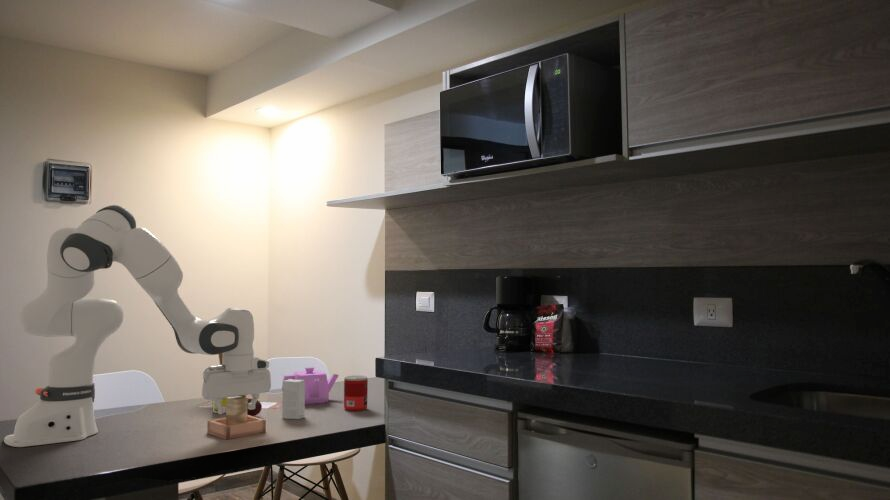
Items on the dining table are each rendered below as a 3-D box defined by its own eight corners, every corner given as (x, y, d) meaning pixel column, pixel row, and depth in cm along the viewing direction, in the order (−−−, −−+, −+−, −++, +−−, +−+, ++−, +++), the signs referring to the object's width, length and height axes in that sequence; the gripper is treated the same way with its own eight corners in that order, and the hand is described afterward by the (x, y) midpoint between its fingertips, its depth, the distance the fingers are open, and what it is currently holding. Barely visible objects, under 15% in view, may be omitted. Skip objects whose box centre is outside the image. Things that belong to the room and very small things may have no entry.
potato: (251, 420, 204) (252, 401, 205) (229, 418, 207) (230, 399, 207) (265, 416, 211) (265, 397, 212) (244, 414, 214) (244, 396, 214)
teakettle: (301, 395, 249) (302, 363, 250) (340, 398, 244) (341, 365, 244) (276, 403, 233) (276, 369, 234) (317, 406, 228) (318, 371, 228)
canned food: (369, 410, 221) (370, 378, 222) (346, 412, 218) (347, 379, 219) (364, 406, 228) (364, 375, 229) (341, 407, 225) (342, 376, 226)
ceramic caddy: (225, 439, 180) (226, 426, 180) (207, 432, 187) (207, 420, 188) (265, 432, 189) (265, 420, 189) (246, 426, 196) (246, 414, 197)
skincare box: (305, 417, 210) (305, 379, 211) (298, 419, 206) (299, 381, 206) (288, 415, 212) (288, 379, 212) (281, 418, 207) (282, 380, 208)
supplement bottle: (232, 412, 217) (233, 381, 218) (216, 414, 214) (216, 383, 214) (226, 409, 221) (227, 379, 222) (210, 411, 218) (210, 381, 218)
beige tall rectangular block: (234, 431, 185) (234, 399, 185) (225, 428, 188) (226, 397, 189) (247, 429, 188) (247, 398, 188) (238, 426, 191) (239, 395, 192)
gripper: (208, 368, 179) (207, 418, 179) (274, 361, 194) (273, 408, 193) (198, 365, 184) (197, 414, 183) (263, 359, 198) (262, 405, 198)
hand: (236, 411), depth 188 cm, fingers open, 8 cm apart
